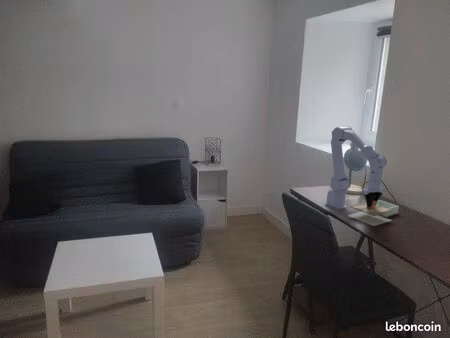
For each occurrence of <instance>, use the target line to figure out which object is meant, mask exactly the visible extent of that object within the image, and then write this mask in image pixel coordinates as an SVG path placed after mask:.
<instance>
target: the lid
mask: <svg viewBox="0 0 450 338" xmlns="http://www.w3.org/2000/svg"><path fill="white" fill-rule="evenodd" d="M349 208H350V209H353V210H356V211H358V212H364V213H367V214H370V215H373V216H378V215H379V216H381V214H385V213H388V212H392V210H390V209H387V208H384V207H381V206H378V205H376V201H375V200H373V203H372V206H371V207H368V206H367V203H366V201H364V202H361V203H357V204H353V205H350V207H349Z"/></svg>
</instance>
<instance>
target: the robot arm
mask: <svg viewBox="0 0 450 338" xmlns="http://www.w3.org/2000/svg"><path fill="white" fill-rule="evenodd" d="M346 141H350V142H351V143H352V144H354V146H356V147H357V148H358V149H359V150H360V153H359V154H361V156H363V158H364V159H365V160H366V161H368V166H369V169H370V171H369V177H368V183H367V187H365V189H363V190H362V194H363V195H364V198H365V202H366V203H367V206H368V207H371V206H372V203H373V200H375V201H376V204H377V201H378V200H380V198H381V197H382V195H383V192H384V191H385V187H384V186H382V179H383V174H384V168H385V167H386V166H387V163H388V160H387V159H386V156H384V155H380V153H379V152H377V151H376V150H375V149H374V147H373V146H372V145H368V144H367V145H366V143H365V142H364V141H363V140H362V139H361V138H360V137H359V135H358V134H357V133H356V131H355V130H354V129H353V128H352V127H351V126H342V127H341V126H337V127H335V128H333V130H332V131H331V140H330V146H331V156H332V157H331V158H332V166H333V175H332V176H331V178H330V186H329V187H330V189H329V190H327V191H328V192H327V196H326V202H325V205H326V206H328V207H332V208H335V209H337V210H341V209H344V208H345V209H346V208H348V206H347V205H346V198H347V197H346V196H347V191H348V189H350V187H351V183H350V180H349V177H348V175H347V174H346V173H345V164H344V154H343V148H342V147H343V145H344V143H345V142H346Z"/></svg>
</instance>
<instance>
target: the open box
mask: <svg viewBox="0 0 450 338" xmlns="http://www.w3.org/2000/svg"><path fill="white" fill-rule="evenodd" d="M376 205H378V206H381V207H384V208H387V209H390V210H392V212H388V213H385V214H381V215H380V216H382V217H385V218H388V217H391V216H394V215H397V214H398V213H399V208H400V206H399V205H396V204H393V203H391V202H387V201H384V200H382V199H378V201H377V204H376Z"/></svg>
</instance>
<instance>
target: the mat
mask: <svg viewBox="0 0 450 338" xmlns="http://www.w3.org/2000/svg"><path fill="white" fill-rule="evenodd" d="M346 216H348V217H350V218H353V219H355V220H357V221H360V222H363V223H365V224H367V225H369V226H370V225H371V226H373V227H375V226H379V225H382V224H386V223H388V222H391V221H393V220H392V219H390V218H388V217H383V216H381V215H378V216H373V215H370V214H367V213H364V212H361V211H358V212H354V213H350V214H347V215H346Z"/></svg>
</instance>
